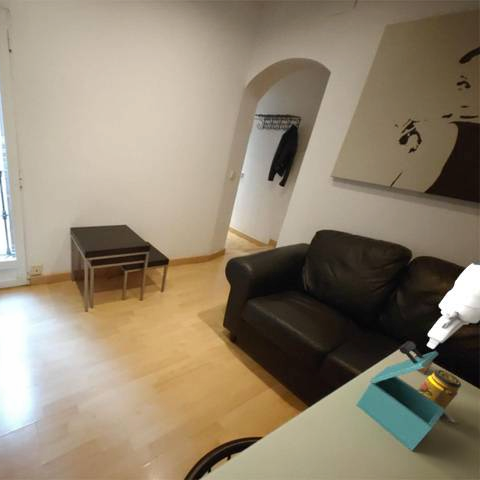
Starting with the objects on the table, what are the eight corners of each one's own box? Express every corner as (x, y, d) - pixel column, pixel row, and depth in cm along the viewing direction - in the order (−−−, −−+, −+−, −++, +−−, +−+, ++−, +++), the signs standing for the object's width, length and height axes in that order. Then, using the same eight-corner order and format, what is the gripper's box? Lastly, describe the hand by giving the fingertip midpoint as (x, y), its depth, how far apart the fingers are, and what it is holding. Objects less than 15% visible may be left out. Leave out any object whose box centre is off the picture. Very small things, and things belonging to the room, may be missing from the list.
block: (427, 370, 90) (433, 362, 89) (423, 374, 88) (429, 365, 87) (412, 361, 93) (418, 353, 92) (408, 365, 91) (414, 356, 90)
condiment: (404, 392, 80) (425, 364, 75) (433, 399, 79) (457, 370, 75) (423, 416, 73) (448, 386, 69) (455, 423, 73) (482, 393, 68)
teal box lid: (438, 354, 66) (420, 335, 69) (424, 367, 61) (405, 346, 63) (389, 370, 75) (374, 352, 78) (372, 383, 70) (358, 364, 72)
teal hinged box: (426, 431, 69) (445, 409, 66) (411, 451, 64) (431, 428, 60) (373, 390, 79) (387, 369, 75) (356, 405, 73) (370, 383, 70)
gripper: (466, 323, 73) (437, 359, 79) (482, 308, 84) (456, 341, 89) (436, 309, 78) (411, 344, 84) (455, 297, 89) (432, 328, 94)
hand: (435, 342), depth 87 cm, fingers open, 8 cm apart
